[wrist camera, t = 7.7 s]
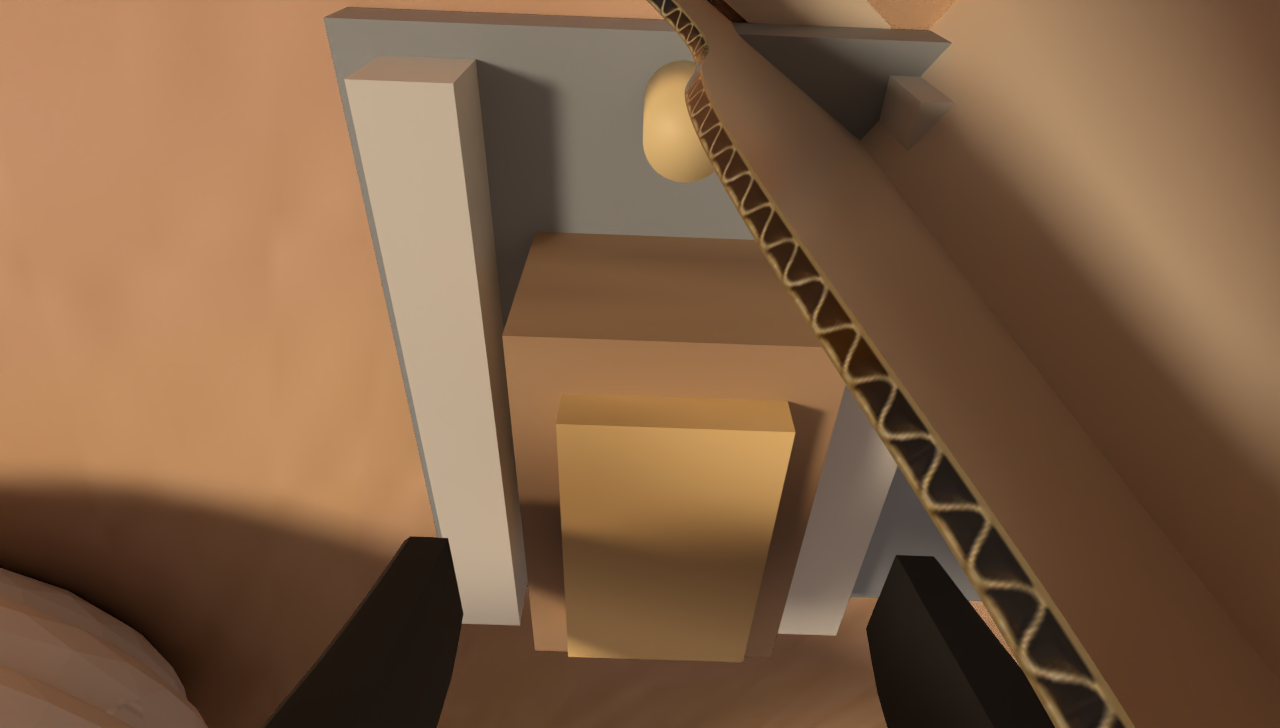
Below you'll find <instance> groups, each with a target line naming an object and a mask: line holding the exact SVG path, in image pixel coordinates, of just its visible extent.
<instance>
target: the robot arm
mask: <svg viewBox="0 0 1280 728" xmlns="http://www.w3.org/2000/svg"><path fill="white" fill-rule="evenodd" d="M462 619H463V609H462V604H461V599H460V594H459V589H458V584H457V579H456V575H455V570H454V565H453V560H452V555H451V550H450V545H449V540H448V538H434V537H409V538H408V539H406V540H405V541H404V542H403V544H402V545H401V547H400V548H399V550H398V551H397V553H396V554H395V556H394V557H393V559H392V560H391V562H390V563H389V564H388V566H387V567H386V569H385V570H384V572H383V573H382V575H381V576H380V577H379V579H378V580H377V582H376V583H375V584H374V586H373V587H372V589H371V590H370V591H369V593H368V594H367V596H366V597H365V598H364V600H363V601H362V602H361V604H360V605H359V606H358V608H357V609H356V611H355V612H354V613H353V615H352V616H351V617H350V619H349V620H348V621H347V623H346V624H345V625H344V626H343V628H342V629H341V630H340V632H339V633H338V634H337V635H336V637H335V638H334V639H333V641H332V642H331V643H330V644H329V646H328V647H327V648H326V650H325V651H324V652H323V654H322V655H321V656H320V657H319V659H318V660H317V661H316V663H315V664H314V665H313V666H312V667H311V669H310V670H309V671H308V672H307V674H306V675H305V676H304V677H303V678H302V680H301V681H300V682H299V683H298V684H297V686H296V687H295V688H294V689H293V690H292V691H291V693H290V694H289V695H288V696H287V697H286V699H285V700H284V701H283V702H282V703H281V704H280V706H279V707H278V708H277V709H276V710H275V712H274V713H273V714H272V715H271V716H270V717H269V719H268V720H267V721H266V722H265V723H264V724H263V726H262V727H261V728H437V724H438V721H439V718H440V714H441V711H442V708H443V704H444V701H445V698H446V694H447V691H448V687H449V684H450V681H451V677H452V672H453V667H454V662H455V657H456V652H457V646H458V641H459V635H460V630H461V624H462ZM866 630H867V636H868V642H869V648H870V654H871V660H872V666H873V671H874V676H875V682H876V687H877V692H878V696H879V699H880V703H881V707H882V710H883V713H884V717H885V720H886V724H887V727H888V728H1055V726H1054V725H1053V723H1052V721H1051V719H1050V717H1049V716H1048V714H1047V712H1046V710H1045V709H1044V707H1043V705H1042V703H1041V701H1040V700H1039V698H1038V696H1037V694H1036V693H1035V691H1034V689H1033V687H1032V686H1031V684H1030V682H1029V680H1028V679H1027V677H1026V675H1025V674H1024V672H1023V670H1022V669H1021V668H1020V667H1019V665H1018V664H1017V663H1016V662H1015V660H1014V659H1013V658H1012V657H1011V655H1010V654H1009V653H1008V652H1007V650H1006V649H1005V648H1004V647H1003V645H1002V644H1001V643H1000V642H999V640H998V639H997V638H996V636H995V635H994V634H993V633H992V631H991V630H990V629H989V627H988V626H987V625H986V623H985V622H984V621H983V620H982V618H981V617H980V616H979V614H978V613H977V612H976V610H975V609H974V608H973V607H972V605H971V604H970V603H969V601H968V600H967V599H966V597H965V596H964V595H963V593H962V592H961V591H960V589H959V588H958V587H957V585H956V584H955V583H954V581H953V580H952V579H951V577H950V576H949V575H948V574H947V572H946V571H945V570H944V568H943V567H942V566H941V564H940V563H939V562H938V561H937V559H936V558H935V557H934V556H912V555H896V556H895V558H894V561H893V563H892V566H891V568H890V571H889V573H888V576H887V578H886V581H885V583H884V586H883V588H882V591H881V593H880V596H879V598H878V601H877V603H876V606H875V608H874V610H873V613H872V615H871V618H870V620H869V623H868V625H867V628H866Z"/></svg>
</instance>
